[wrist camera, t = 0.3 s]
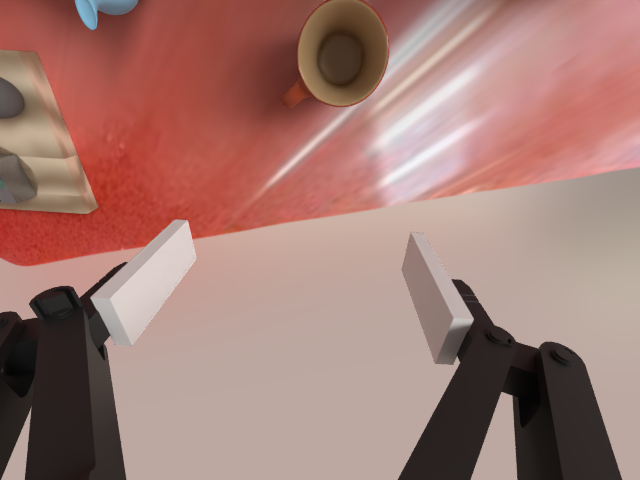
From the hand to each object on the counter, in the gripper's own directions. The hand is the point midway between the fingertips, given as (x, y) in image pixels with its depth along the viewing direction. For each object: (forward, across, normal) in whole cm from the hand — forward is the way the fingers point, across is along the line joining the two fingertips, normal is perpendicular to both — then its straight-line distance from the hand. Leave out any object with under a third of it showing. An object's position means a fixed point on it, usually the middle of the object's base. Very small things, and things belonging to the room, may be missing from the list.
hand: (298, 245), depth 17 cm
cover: (+25, -47, -6) cm, 54 cm away
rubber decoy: (+23, -40, +5) cm, 46 cm away
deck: (+28, -47, -1) cm, 55 cm away
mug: (+28, +1, +9) cm, 29 cm away
